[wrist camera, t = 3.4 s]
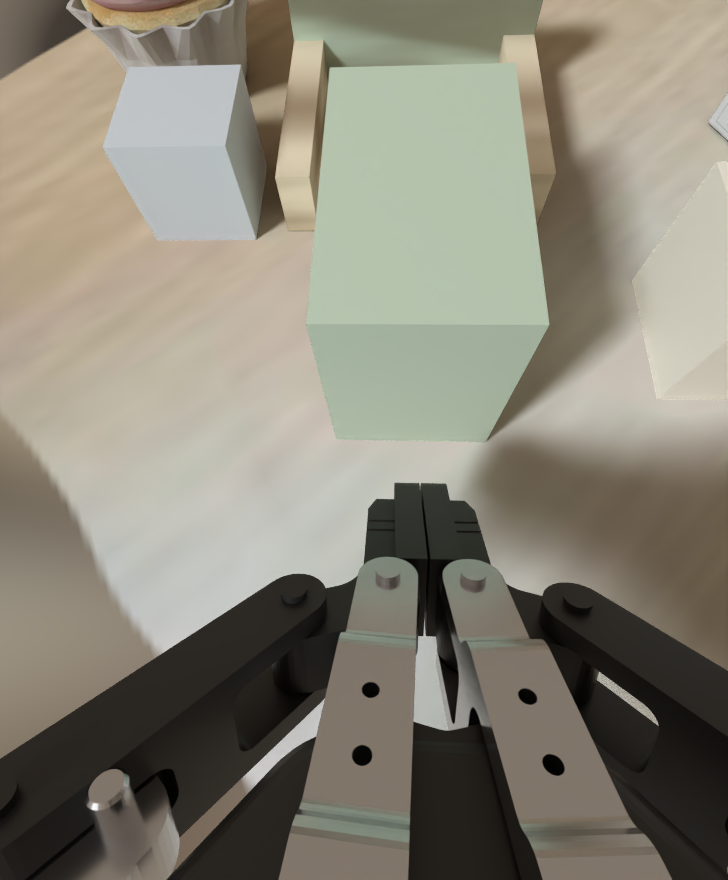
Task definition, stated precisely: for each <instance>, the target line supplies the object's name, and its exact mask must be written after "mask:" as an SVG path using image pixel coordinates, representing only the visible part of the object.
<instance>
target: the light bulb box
mask: <svg viewBox="0 0 728 880" xmlns="http://www.w3.org/2000/svg"><path fill="white" fill-rule="evenodd" d="M709 124H710V125H711V126H712V127H713V128H714V129H716V130H717V131H718V132H719V133H720V134H721V135H722V136H723V137H724V138H726V139H727V140H728V92H727V94H726V95H725V97H724V99H723V100H722V101H721V103H720V104H719V106H718V108H717V109H716V111H715V112H714V114H713V115H712V117H711V118H710V120H709Z"/></svg>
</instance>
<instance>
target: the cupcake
mask: <svg viewBox="0 0 728 880" xmlns="http://www.w3.org/2000/svg"><path fill="white" fill-rule="evenodd" d="M247 6H248V0H70V1H69V3H68V4H67V7H66V9H68V10H69V11H70V12H71V13H72V14H73V15H74V16H75V17H76V18H77V19H78V20H80V21H81V22H82V23H83V24H84V25H85V26H86V27H87V28H88V29H89V30H90V31H92V32H93V33H94V34H95V35H96V36H97V37H98V38H99V39H100V40H101V41H102V42H103V43H104V44H105V45H106V47H107V48H108V49H109V50H110V52H111V53H112V54H113V56H114V57H115V58H116V59H117V61H118V62H119V63H120V65H121V66H122V68H123V69H124V70H125V72H126V73H127V71H128V68H129V67H160V66H201V65H241V67H242V70H243V74H244V78H245V79H246V74H247V66H248V61H247V40H246V12H247Z"/></svg>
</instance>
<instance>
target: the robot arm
mask: <svg viewBox="0 0 728 880" xmlns="http://www.w3.org/2000/svg"><path fill="white" fill-rule="evenodd" d="M424 619H425V631H426V636H436V640H437V655H436V667H437V672H438V678H439V683H440V688H441V693H442V698H443V704H444V709H445V714H446V719H447V724H448V730H449V731H443V730H439V729H436V728H432V727H429V726H425V725H422V724H419V723H415V722H413V718H414V690H415V662H416V654H417V649H418V636H423V631H424ZM599 672H601V673H602V674H604V675H605V676H606V677H608V678H609V679H610V680H612V681H613V682H614V683H616V684H617V685H619V686H620V687H621V688H623V689H624V690H625V691H627V692H628V693H630V694H631V695H632V696H634V697H635V698H636V699H638V700H639V701H640V702H642V703H643V704H644V705H646V706H647V707H648V708H649V709H650V710H651V712H652V713H653V714H654V716H655V717H656V719H657V721H658V724H659V726H658V725H656V724H655V723H653V722H652V721H651V720H649V719H648V718H647V717H645V716H644V715H643V714H641V713H640V712H639V711H637V710H636V709H635V708H633V707H632V706H631V705H629V704H628V703H627V702H625V701H624V700H623V699H621V698H620V697H619V696H617V695H616V694H615V693H613V692H612V691H611V690H609V689H608V688H607V687H605V686H604V685H603V684H601V683H600V682H599V681H597V677H598V673H599ZM324 698H325V701H324V705H323V710H322V714H321V718H320V723H319V727H318V732H317V736H316V737H314V738H312V739H310V740H308V741H306V742H304V743H303V744H301V745H299V746H298V747H296V748H295V749H293V750H292V751H291V752H289V753H288V754H287V755H286V756H284V757H283V758H282V759H281V760H280V761H279V762H278V763H277V764H276V765H275V766H274V767H273V768H272V769H271V770H270V771H269V772H268V773H267V774H266V775H265V776H264V777H263V778H262V779H261V780H260V781H259V782H258V783H257V785H256V786H255V787H254V788H253V789H252V790H251V791H250V792H249V793H248V794H247V795H246V796H245V797H244V798H243V799H242V800H241V802H240V803H239V804H238V805H237V806H236V807H235V808H234V809H233V810H232V811H231V812H230V813H229V814H228V815H227V816H226V818H225V819H223V820H222V822H221V823H220V824H219V825H218V826H217V827H216V828H215V829H214V830H213V831H212V832H211V833H210V834H209V835H208V836H207V837H206V838H205V839H204V840H203V842H202V843H201V844H200V845H199V846H198V847H197V848H196V849H195V850H194V851H193V852H192V853H191V854H190V855H189V856H188V857H187V858H186V859H185V861H184V862H183V863H182V864H181V865H180V866H179V867H178V868H177V869H176V870H175V871H174V872H173V873H172V871H173V868H174V866H175V863H176V860H177V856H178V852H179V837H180V836H182V834H184V833H185V832H186V831H187V830H188V829H189V828H190V827H191V826H192V825H193V824H194V823H195V822H196V821H197V820H198V819H199V818H200V817H201V816H202V815H204V813H205V812H206V811H208V809H210V808H211V807H212V806H213V805H214V804H215V803H216V802H217V801H218V800H219V799H220V798H221V797H222V796H223V795H224V794H225V793H227V791H229V790H230V789H231V788H232V787H233V786H234V785H235V784H236V783H237V782H238V781H239V780H240V779H241V778H242V777H243V776H244V775H245V774H246V773H247V772H249V771H250V770H251V769H252V768H253V767H254V766H255V765H256V764H257V763H258V762H259V761H260V760H261V759H262V758H263V757H264V756H265V755H266V754H267V753H268V752H269V751H270V750H272V749H273V748H274V747H275V746H276V745H277V744H278V743H279V742H280V741H281V740H282V739H283V738H284V737H285V736H286V735H287V734H288V733H289V732H290V731H291V730H292V729H293V728H295V727H296V726H297V725H298V724H299V723H300V722H301V721H302V720H303V719H304V718H305V717H306V716H307V715H308V714H309V713H310V712H311V711H312V710H313V709H314V708H315V707H316V706H318V705H319V704H320V703H321V702H322V701H323V700H324ZM171 873H172V874H171ZM0 880H728V671H727V670H725V669H724V668H722V667H720V666H719V665H717V664H715V663H714V662H712V661H710V660H709V659H707V658H705V657H704V656H702V655H700V654H699V653H697V652H695V651H694V650H692V649H690V648H689V647H687V646H685V645H684V644H682V643H680V642H679V641H677V640H675V639H674V638H672V637H670V636H669V635H667V634H665V633H664V632H662V631H660V630H659V629H657V628H655V627H654V626H652V625H650V624H649V623H647V622H645V621H644V620H642V619H640V618H639V617H637V616H635V615H634V614H632V613H630V612H629V611H627V610H625V609H624V608H622V607H620V606H619V605H617V604H615V603H614V602H612V601H610V600H609V599H607V598H605V597H604V596H602V595H600V594H599V593H597V592H595V591H594V590H592V589H590V588H587V587H585V586H582V585H579V584H574V583H556V584H553V585H551V586H549V587H548V588H546V589H545V591H544V593H543V596H539V595H535V594H532V593H528V592H524V591H521V590H518V589H515V588H513V587H511V586H509V585H507V584H506V583H505V581H504V578H503V576H502V575H501V573H500V572H499V571H498V570H497V569H496V568H495V567H493V566H492V565H491V564H490V560H489V557H488V554H487V550H486V547H485V544H484V540H483V537H482V534H481V530H480V527H479V524H478V520H477V517H476V514H475V511H474V510H473V509H472V508H471V507H470V506H469V505H468V504H467V503H466V502H465V501H450V499H449V494H448V490H447V485H446V484H434V483H421V486H419V483H395V486H394V499H376V500H375V501H374V503H373V504H372V505H371V506H370V507H369V509H368V522H367V533H366V545H365V557H364V565H363V566H362V567H361V568H360V570H359V573H358V576H357V577H356V578H354V579H353V580H351V581H350V582H348V583H345V584H343V585H339V586H335V587H330V588H325V586H324V584H323V583H322V582H321V581H320V580H319V579H317V578H315V577H313V576H310V575H306V574H291V575H287V576H283V577H281V578H279V579H277V580H275V581H273V582H272V583H270V584H269V585H267V586H266V587H264V588H263V589H261V590H259V591H258V592H256V593H255V594H253V595H252V596H250V597H249V598H247V599H246V600H244V601H243V602H241V603H239V604H238V605H236V606H235V607H233V608H232V609H230V610H229V611H227V612H226V613H224V614H223V615H221V616H219V617H218V618H216V619H215V620H213V621H212V622H210V623H209V624H207V625H206V626H204V627H203V628H201V629H199V630H198V631H196V632H195V633H193V634H192V635H190V636H189V637H187V638H186V639H184V640H182V641H181V642H179V643H178V644H176V645H175V646H173V647H172V648H170V649H169V650H167V651H166V652H164V653H162V654H161V655H159V656H158V657H156V658H155V659H153V660H152V661H150V662H149V663H147V664H146V665H144V666H143V667H141V668H139V669H138V670H136V671H135V672H133V673H132V674H130V675H129V676H127V677H126V678H124V679H122V680H121V681H119V682H118V683H116V684H115V685H113V686H112V687H110V688H109V689H107V690H106V691H104V692H103V693H101V694H99V695H98V696H96V697H95V698H93V699H92V700H90V701H89V702H87V703H86V704H84V705H82V706H81V707H79V708H78V709H76V710H75V711H73V712H72V713H70V714H69V715H67V716H66V717H64V718H63V719H61V720H59V721H58V722H56V723H55V724H53V725H52V726H50V727H49V728H47V729H46V730H44V731H42V732H41V733H39V734H38V735H36V736H35V737H33V738H32V739H30V740H29V741H27V742H25V743H24V744H22V745H21V746H19V747H18V748H16V749H15V750H13V751H12V752H10V753H9V754H7V755H6V756H4V757H3V758H1V759H0Z"/></svg>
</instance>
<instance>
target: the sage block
mask: <svg viewBox="0 0 728 880" xmlns="http://www.w3.org/2000/svg"><path fill="white" fill-rule="evenodd" d="M306 326H307V330H308V334H309V338H310V342H311V345H312V349H313V353H314V357H315V360H316V364H317V368H318V372H319V376H320V379H321V383H322V387H323V391H324V395H325V398H326V402H327V406H328V410H329V413H330V417H331V421H332V425H333V429H334V432H335V436H336V440H395V441H457V442H486V440H487V438H488V437H489V435H490V433H491V431H492V429H493V427H494V426H495V424H496V422H497V420H498V418H499V416H500V415H501V413H502V411H503V409H504V407H505V405H506V404H507V402H508V400H509V398H510V396H511V394H512V393H513V391H514V389H515V387H516V385H517V383H518V382H519V380H520V378H521V376H522V374H523V372H524V371H525V369H526V367H527V365H528V363H529V361H530V360H531V358H532V356H533V354H534V352H535V350H536V349H537V347H538V345H539V343H540V341H541V339H542V338H543V336H544V334H545V332H546V330H547V328H548V327H549V317H548V310H547V302H546V294H545V287H544V279H543V271H542V263H541V256H540V248H539V240H538V233H537V225H536V217H535V209H534V202H533V194H532V186H531V179H530V171H529V163H528V155H527V148H526V140H525V132H524V125H523V117H522V109H521V101H520V94H519V86H518V78H517V71H516V63H491V64H451V65H411V66H371V67H331V68H330V71H329V82H328V92H327V103H326V114H325V124H324V135H323V146H322V157H321V167H320V178H319V189H318V199H317V210H316V221H315V232H314V242H313V253H312V264H311V274H310V285H309V296H308V307H307V317H306Z"/></svg>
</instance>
